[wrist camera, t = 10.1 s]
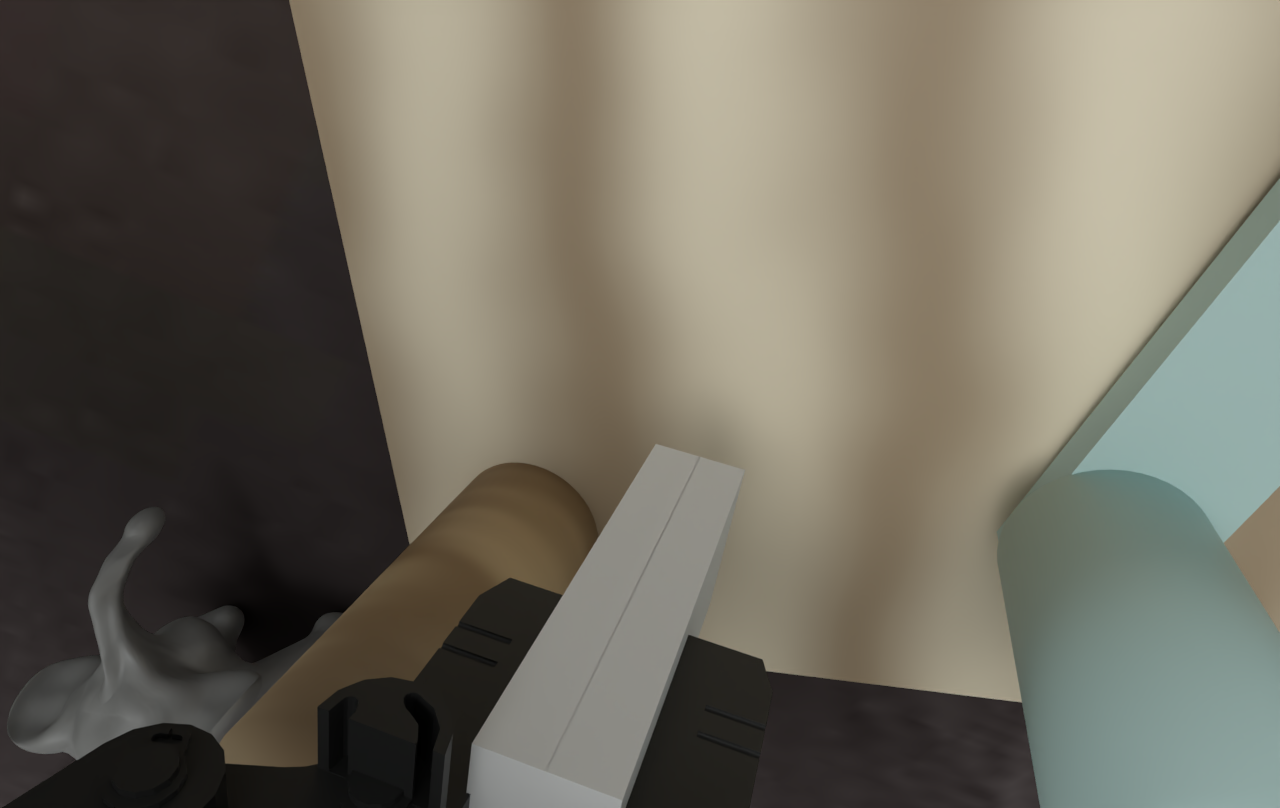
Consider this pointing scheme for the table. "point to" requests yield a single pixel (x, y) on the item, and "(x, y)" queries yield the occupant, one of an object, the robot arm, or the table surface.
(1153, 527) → the hinged leg
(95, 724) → the gray elephant figurine
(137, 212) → the table surface
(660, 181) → the stool
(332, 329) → the table surface
